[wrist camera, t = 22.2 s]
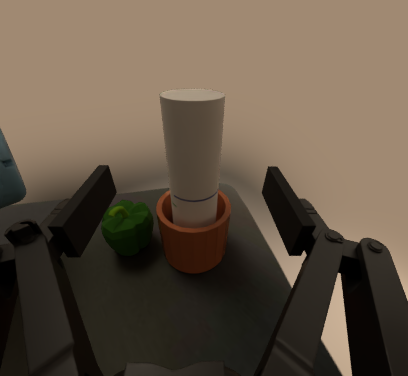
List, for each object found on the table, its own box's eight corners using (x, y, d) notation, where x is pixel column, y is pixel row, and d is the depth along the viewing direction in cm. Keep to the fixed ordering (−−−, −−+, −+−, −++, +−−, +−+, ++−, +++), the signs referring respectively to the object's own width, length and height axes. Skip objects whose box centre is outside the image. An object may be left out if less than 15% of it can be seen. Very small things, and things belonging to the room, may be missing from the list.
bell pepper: (139, 220, 41) (130, 182, 36) (164, 241, 37) (158, 201, 31) (101, 245, 36) (82, 204, 30) (124, 272, 32) (108, 230, 26)
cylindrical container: (199, 266, 32) (200, 104, 17) (167, 245, 35) (145, 94, 20) (221, 237, 37) (236, 93, 22) (191, 222, 40) (187, 86, 25)
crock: (150, 245, 36) (141, 204, 30) (195, 214, 43) (194, 176, 37) (193, 288, 30) (192, 247, 24) (237, 244, 37) (245, 204, 31)
